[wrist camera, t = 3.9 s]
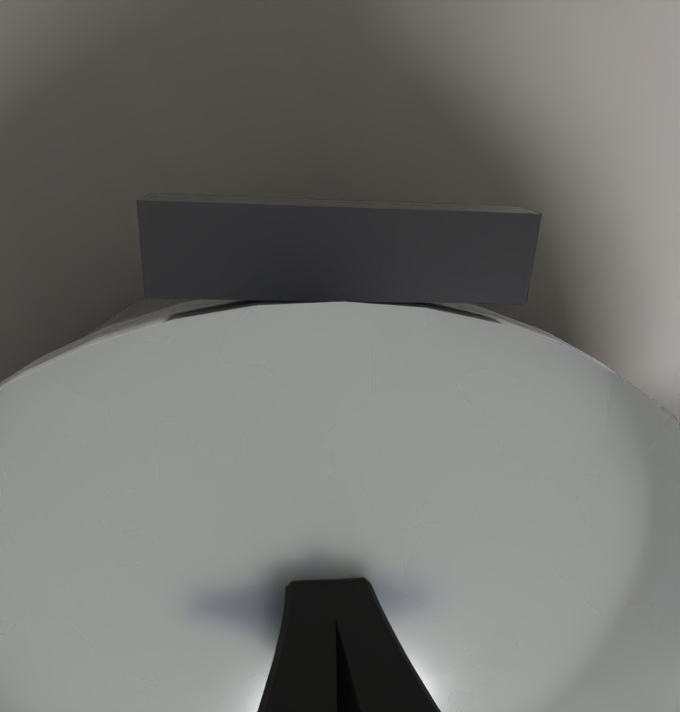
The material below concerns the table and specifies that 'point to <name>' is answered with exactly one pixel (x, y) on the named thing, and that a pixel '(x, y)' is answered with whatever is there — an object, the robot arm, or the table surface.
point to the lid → (335, 472)
